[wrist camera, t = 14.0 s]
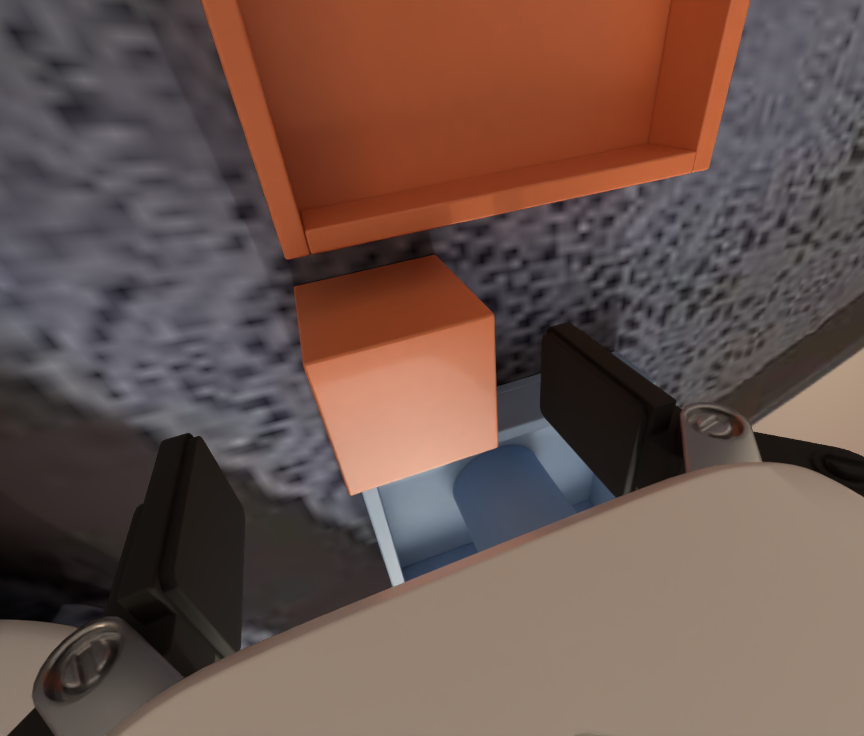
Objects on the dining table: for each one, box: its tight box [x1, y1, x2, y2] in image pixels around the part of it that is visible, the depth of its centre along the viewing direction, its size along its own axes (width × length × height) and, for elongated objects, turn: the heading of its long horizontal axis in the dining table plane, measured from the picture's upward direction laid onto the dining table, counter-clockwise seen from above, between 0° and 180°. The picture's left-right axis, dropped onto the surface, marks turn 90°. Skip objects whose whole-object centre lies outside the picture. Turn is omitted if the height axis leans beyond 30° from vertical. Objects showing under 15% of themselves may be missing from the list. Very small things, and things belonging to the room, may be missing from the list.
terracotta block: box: [294, 255, 498, 495], centre depth 13 cm, size 5×5×5 cm
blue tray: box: [361, 351, 656, 587], centre depth 20 cm, size 12×10×2 cm
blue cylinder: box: [453, 445, 577, 553], centre depth 18 cm, size 4×4×5 cm
